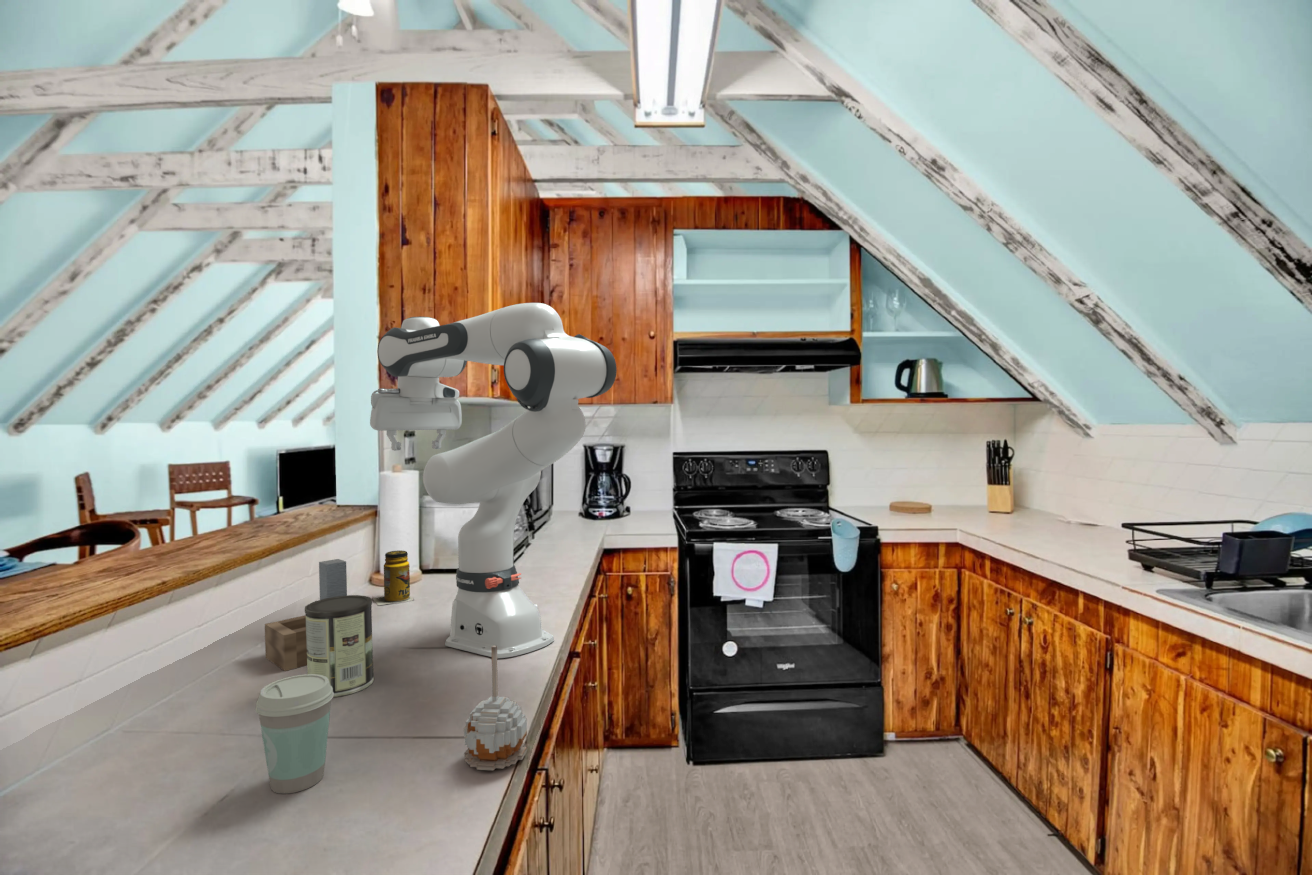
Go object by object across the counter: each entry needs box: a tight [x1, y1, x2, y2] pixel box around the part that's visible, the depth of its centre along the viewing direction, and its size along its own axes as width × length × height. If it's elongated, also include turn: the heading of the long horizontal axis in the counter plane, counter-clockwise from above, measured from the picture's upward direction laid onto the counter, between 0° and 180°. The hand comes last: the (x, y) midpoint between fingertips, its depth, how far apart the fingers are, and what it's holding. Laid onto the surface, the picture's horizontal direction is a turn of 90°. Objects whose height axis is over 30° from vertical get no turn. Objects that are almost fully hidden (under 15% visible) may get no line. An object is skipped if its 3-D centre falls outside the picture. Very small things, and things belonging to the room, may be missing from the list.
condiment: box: [372, 550, 415, 606], centre depth 162 cm, size 7×8×12 cm
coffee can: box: [304, 594, 375, 698], centre depth 110 cm, size 10×10×14 cm
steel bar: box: [318, 558, 348, 600], centre depth 138 cm, size 4×4×15 cm
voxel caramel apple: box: [463, 646, 528, 771], centre depth 86 cm, size 8×8×15 cm
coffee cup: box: [254, 673, 334, 795], centre depth 81 cm, size 9×9×12 cm
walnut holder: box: [264, 614, 307, 672], centre depth 123 cm, size 10×10×6 cm
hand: (416, 449), depth 149 cm, fingers open, 8 cm apart
